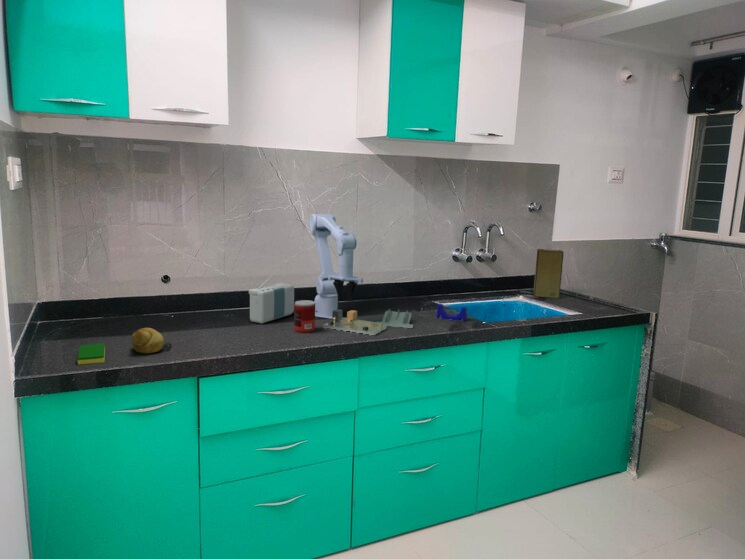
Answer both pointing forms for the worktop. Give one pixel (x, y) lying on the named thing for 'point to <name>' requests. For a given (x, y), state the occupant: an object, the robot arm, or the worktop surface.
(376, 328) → the plate
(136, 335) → the bread roll
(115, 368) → the worktop surface
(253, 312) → the stereo radio cassette player
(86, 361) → the dish sponge
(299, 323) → the canned food
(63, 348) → the worktop surface
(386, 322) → the metal bracket
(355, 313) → the block
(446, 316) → the cable clip
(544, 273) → the food packaging
